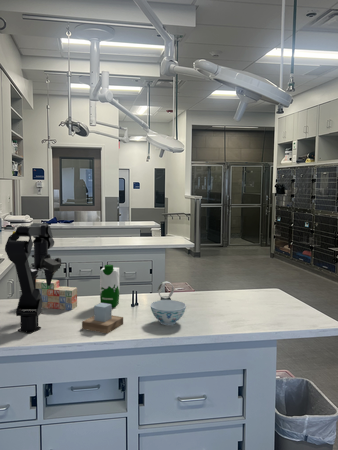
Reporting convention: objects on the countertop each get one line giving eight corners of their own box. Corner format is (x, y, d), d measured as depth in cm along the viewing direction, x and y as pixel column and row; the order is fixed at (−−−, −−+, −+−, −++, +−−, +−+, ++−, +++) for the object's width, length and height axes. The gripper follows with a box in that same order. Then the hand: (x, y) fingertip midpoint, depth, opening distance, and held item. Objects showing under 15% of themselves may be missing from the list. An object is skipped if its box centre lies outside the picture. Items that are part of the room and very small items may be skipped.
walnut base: (107, 333, 157) (107, 326, 157) (82, 328, 162) (82, 321, 161) (123, 324, 168) (123, 317, 168) (98, 319, 173) (98, 313, 172)
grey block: (104, 322, 161) (104, 307, 161) (94, 320, 163) (94, 305, 163) (111, 318, 166) (111, 304, 165) (101, 316, 168) (101, 302, 167)
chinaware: (145, 318, 175) (145, 301, 174) (177, 315, 180) (178, 298, 179) (157, 330, 161) (157, 311, 160) (191, 326, 166) (191, 308, 166)
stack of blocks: (77, 306, 192) (77, 281, 191) (71, 310, 186) (71, 284, 185) (36, 303, 196) (36, 278, 195) (29, 306, 190) (29, 281, 189)
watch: (156, 302, 199) (156, 280, 198) (172, 302, 201) (172, 280, 200) (158, 306, 194) (158, 283, 193) (174, 305, 195) (174, 283, 194)
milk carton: (98, 307, 190) (98, 266, 188) (103, 302, 199) (103, 262, 197) (116, 308, 189) (116, 266, 187) (121, 303, 198) (121, 263, 196)
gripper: (40, 257, 160) (41, 295, 162) (69, 250, 178) (70, 285, 179) (19, 255, 165) (19, 292, 166) (49, 248, 182) (50, 282, 183)
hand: (41, 288), depth 174 cm, fingers open, 9 cm apart
